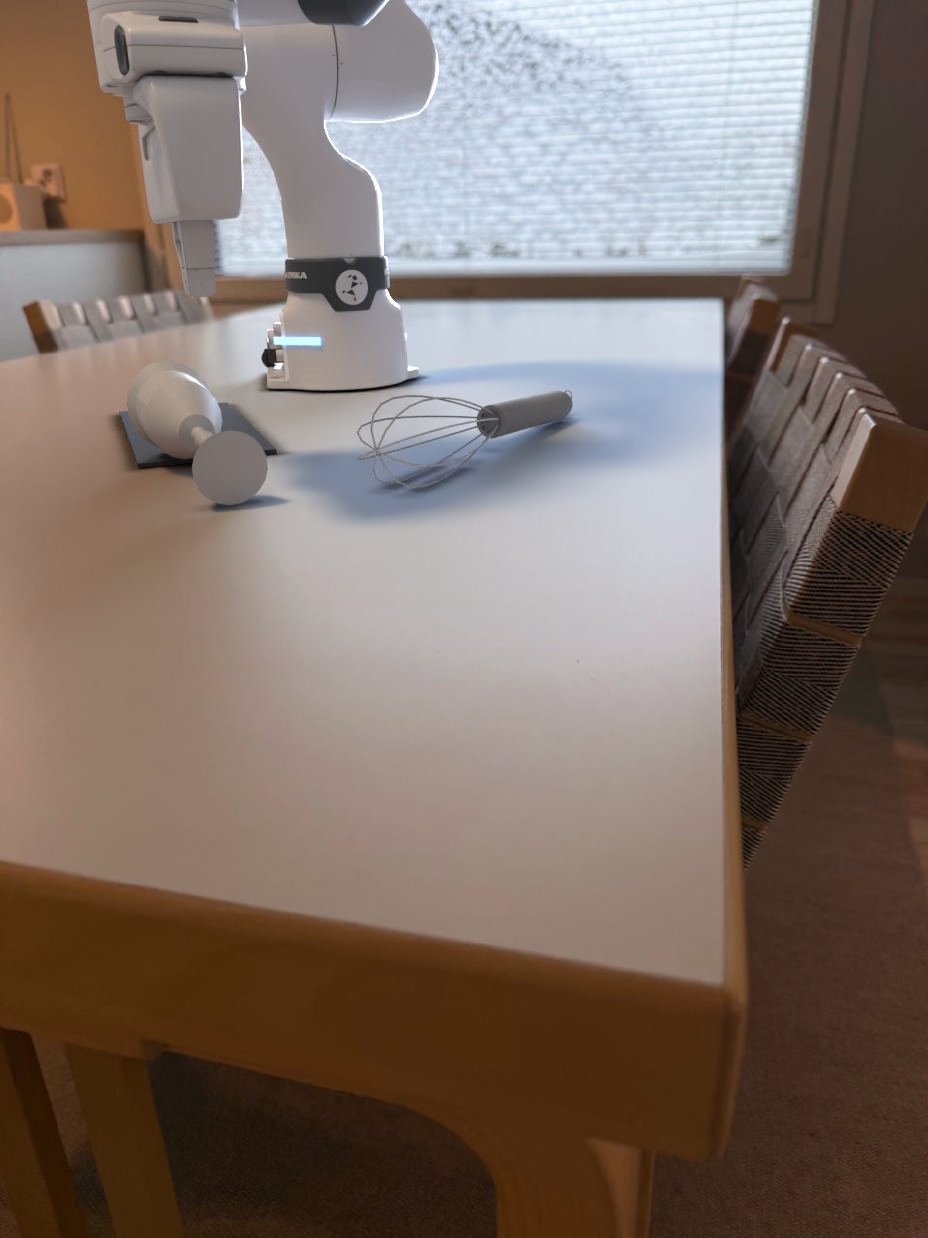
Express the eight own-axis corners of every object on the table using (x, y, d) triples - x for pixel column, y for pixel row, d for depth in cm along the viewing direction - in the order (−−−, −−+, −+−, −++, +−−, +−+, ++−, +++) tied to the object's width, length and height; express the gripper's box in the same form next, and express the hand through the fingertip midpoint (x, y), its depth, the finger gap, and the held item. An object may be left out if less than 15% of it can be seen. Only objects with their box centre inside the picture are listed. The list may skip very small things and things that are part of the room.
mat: (119, 415, 95) (119, 411, 95) (227, 405, 99) (227, 402, 99) (138, 468, 73) (137, 463, 73) (276, 453, 76) (276, 448, 76)
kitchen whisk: (599, 416, 88) (601, 347, 86) (416, 508, 61) (411, 412, 58) (540, 412, 91) (540, 345, 88) (340, 499, 64) (332, 406, 61)
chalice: (196, 533, 62) (143, 459, 76) (291, 502, 64) (223, 436, 78) (163, 430, 58) (114, 372, 72) (265, 401, 60) (198, 350, 74)
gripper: (109, 83, 65) (140, 290, 71) (128, 26, 48) (168, 307, 53) (200, 85, 67) (224, 286, 73) (250, 31, 50) (277, 302, 55)
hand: (200, 295), depth 63 cm, fingers closed
